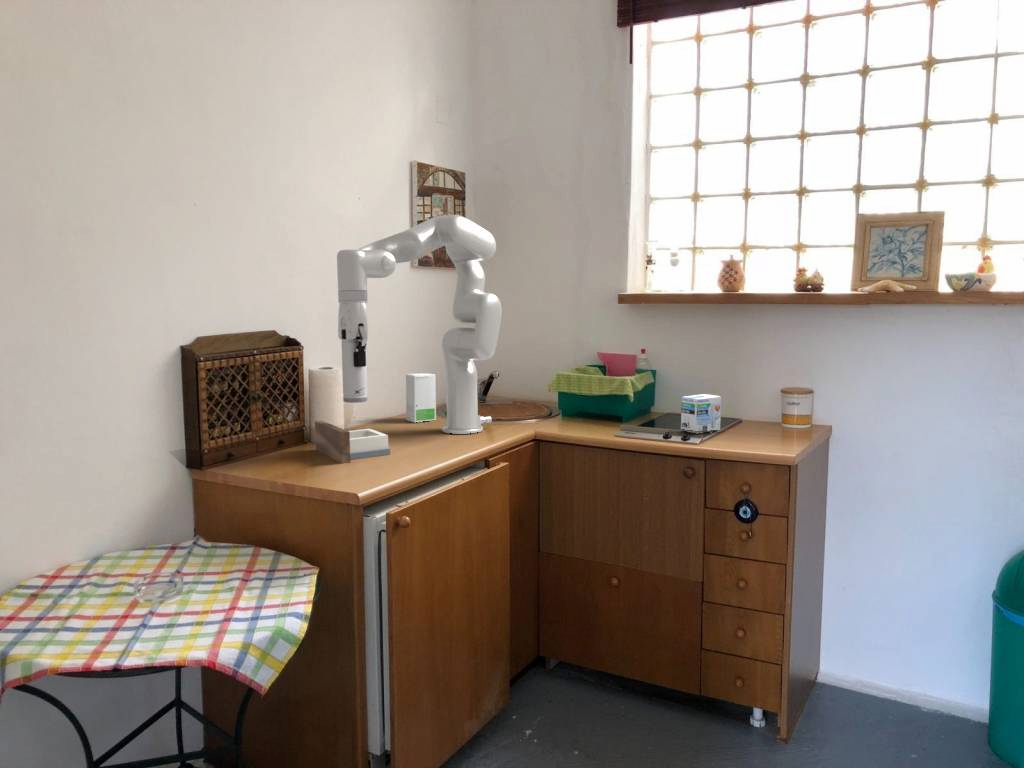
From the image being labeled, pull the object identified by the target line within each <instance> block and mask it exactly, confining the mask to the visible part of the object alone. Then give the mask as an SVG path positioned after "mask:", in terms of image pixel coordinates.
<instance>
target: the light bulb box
mask: <svg viewBox="0 0 1024 768" xmlns="http://www.w3.org/2000/svg"><path fill="white" fill-rule="evenodd" d="M680 411H681V412H680V413H681V414H680V415H681V416H680V418H681V419H680V420H681V421H680V430H681V429H685V430H693V431H710V430H720V431H721V421H722V419H721V417H722V416H721V414H722V413H721V412H722V396H720V395H715V394H714V395H713V394H708V393H703V394H693V395H685V396H681V410H680Z"/></svg>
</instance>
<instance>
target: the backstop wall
mask: <svg viewBox="0 0 1024 768" xmlns="http://www.w3.org/2000/svg"><path fill="white" fill-rule="evenodd" d="M349 431H350V430H346V429H343V428H341V427H339V426H337V425H334V424H331V423H329V422H326V421H324V420H316V421H314V436H315V451H316V452H319V453H321V454H323V455H325V456H327V457H329V458H331V459H333V460H335V461H337V462H339V463H341V464H349V463H351V460H350V434H349Z"/></svg>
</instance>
